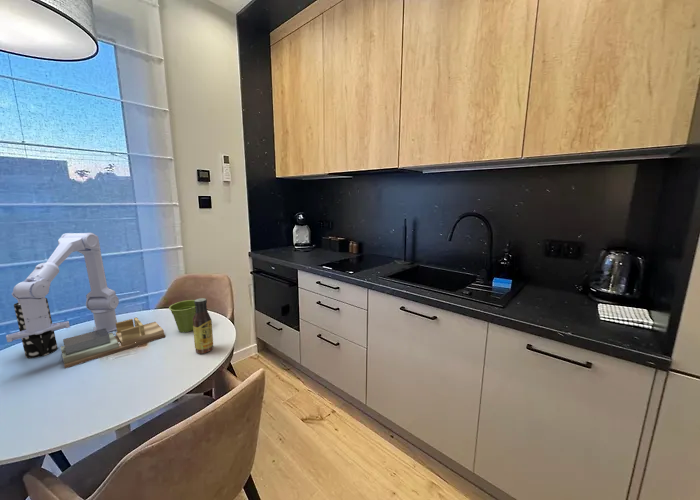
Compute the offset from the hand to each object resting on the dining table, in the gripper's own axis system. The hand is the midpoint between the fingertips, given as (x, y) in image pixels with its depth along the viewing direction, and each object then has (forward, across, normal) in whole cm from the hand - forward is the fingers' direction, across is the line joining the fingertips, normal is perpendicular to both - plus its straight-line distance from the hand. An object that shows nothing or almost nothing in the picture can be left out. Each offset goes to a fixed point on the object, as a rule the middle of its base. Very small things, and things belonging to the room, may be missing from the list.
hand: (44, 353), depth 100 cm
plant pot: (+5, +43, -6) cm, 44 cm away
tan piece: (+5, +19, 0) cm, 20 cm away
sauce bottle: (+5, +41, -30) cm, 51 cm away
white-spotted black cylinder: (+5, -1, +14) cm, 15 cm away
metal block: (+1, +11, 0) cm, 11 cm away
